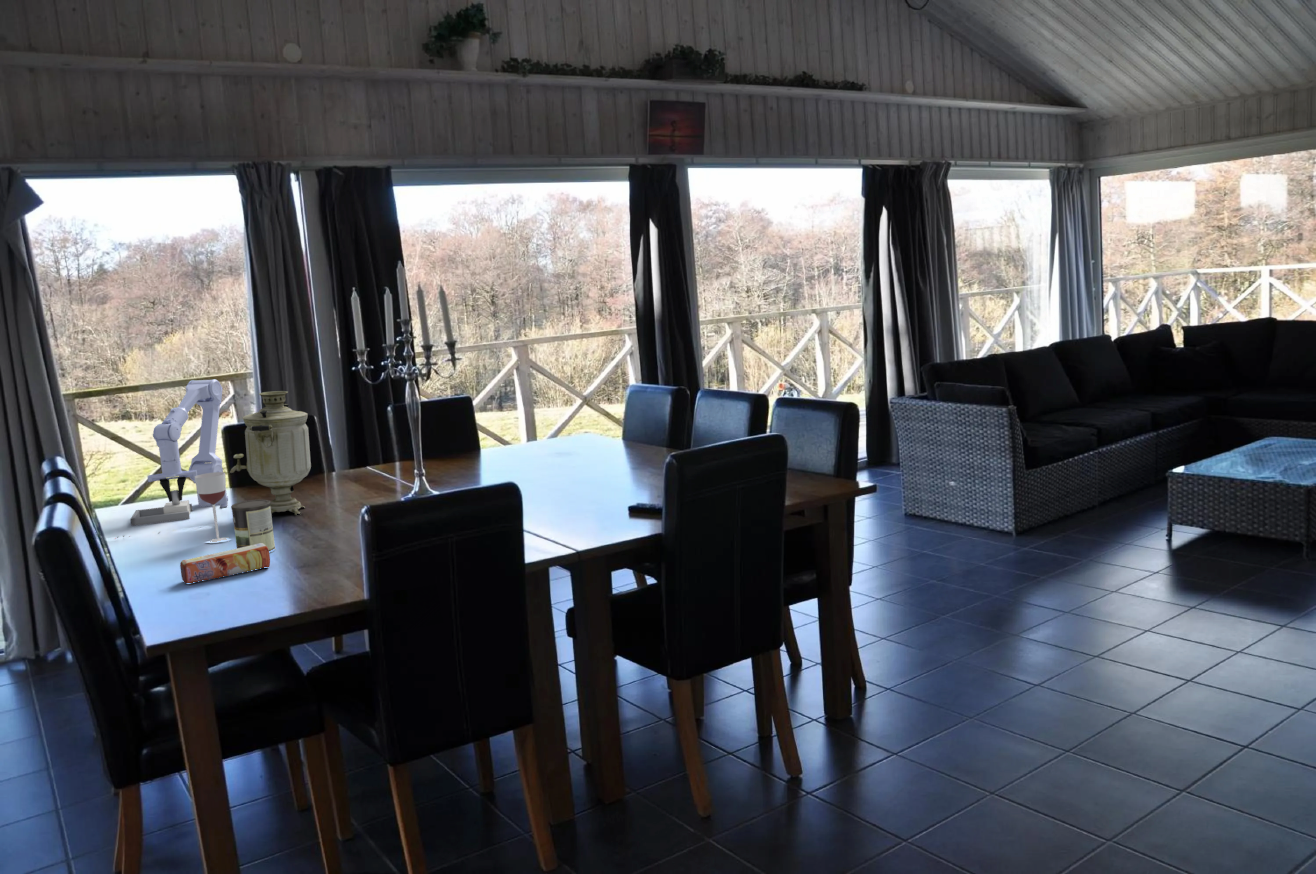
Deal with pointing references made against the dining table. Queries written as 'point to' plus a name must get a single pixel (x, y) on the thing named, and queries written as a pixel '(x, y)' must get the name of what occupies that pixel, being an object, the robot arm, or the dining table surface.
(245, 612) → the dining table surface
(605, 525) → the dining table surface
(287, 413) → the samovar
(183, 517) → the bay
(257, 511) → the coffee can
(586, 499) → the dining table surface
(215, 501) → the wineglass
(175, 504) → the peg on square base
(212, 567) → the snack package
